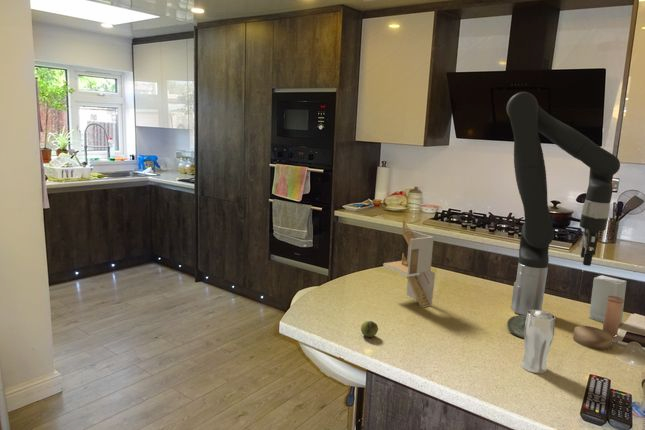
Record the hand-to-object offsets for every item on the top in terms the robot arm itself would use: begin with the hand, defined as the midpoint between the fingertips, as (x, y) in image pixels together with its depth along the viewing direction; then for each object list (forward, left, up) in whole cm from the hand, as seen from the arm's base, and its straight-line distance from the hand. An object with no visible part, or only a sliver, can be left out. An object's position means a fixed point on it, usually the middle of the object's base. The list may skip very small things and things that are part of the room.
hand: (585, 261), depth 153 cm
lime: (-68, -35, -21) cm, 79 cm away
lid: (-21, -19, -21) cm, 35 cm away
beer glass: (-24, -41, -20) cm, 52 cm away
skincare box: (+9, +1, -20) cm, 22 cm away
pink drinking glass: (+6, -11, -20) cm, 24 cm away
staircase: (-57, -2, -21) cm, 61 cm away
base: (-2, -19, -20) cm, 28 cm away
